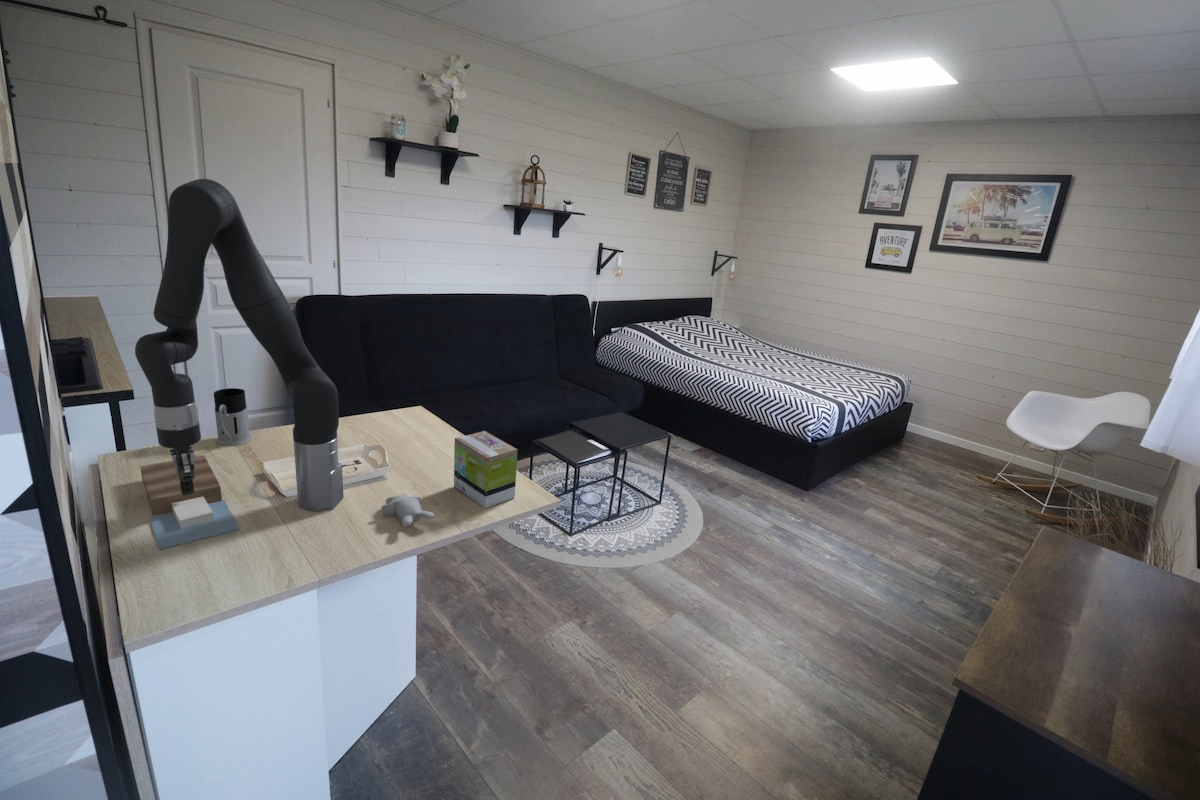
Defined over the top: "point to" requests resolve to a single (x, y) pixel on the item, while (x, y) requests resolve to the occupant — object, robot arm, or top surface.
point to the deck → (178, 485)
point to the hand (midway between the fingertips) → (187, 493)
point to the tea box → (485, 468)
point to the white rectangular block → (192, 512)
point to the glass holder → (231, 417)
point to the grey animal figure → (405, 509)
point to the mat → (192, 527)
